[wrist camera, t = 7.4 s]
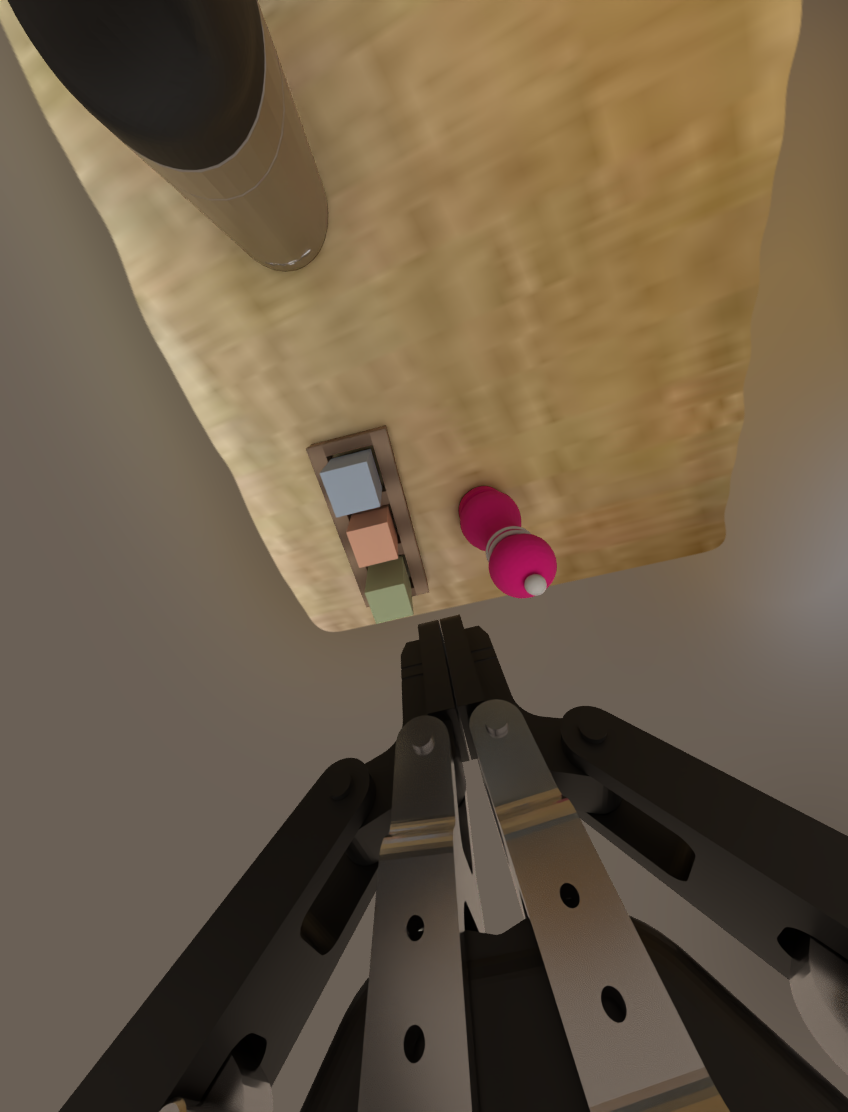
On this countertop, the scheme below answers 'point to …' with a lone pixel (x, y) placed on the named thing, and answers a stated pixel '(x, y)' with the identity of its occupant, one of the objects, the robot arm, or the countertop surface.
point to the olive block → (389, 590)
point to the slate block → (352, 483)
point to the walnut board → (390, 495)
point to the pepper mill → (506, 543)
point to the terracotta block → (373, 536)
